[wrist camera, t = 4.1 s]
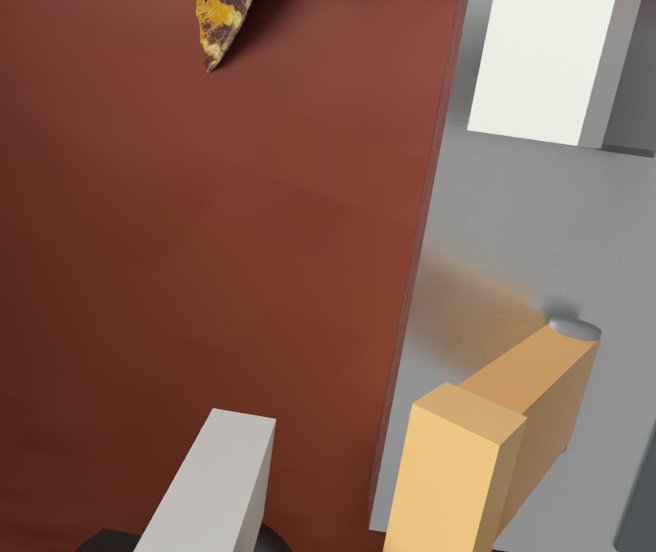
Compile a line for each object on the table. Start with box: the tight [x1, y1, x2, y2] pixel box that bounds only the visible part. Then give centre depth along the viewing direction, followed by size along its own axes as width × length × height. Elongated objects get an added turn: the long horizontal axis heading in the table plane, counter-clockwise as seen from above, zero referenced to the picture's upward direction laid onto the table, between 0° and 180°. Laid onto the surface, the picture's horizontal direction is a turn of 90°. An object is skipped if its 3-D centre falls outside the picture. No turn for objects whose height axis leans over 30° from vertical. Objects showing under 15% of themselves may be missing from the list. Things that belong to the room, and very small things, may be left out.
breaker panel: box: [369, 0, 656, 552], centre depth 20 cm, size 12×20×3 cm, turn 172°
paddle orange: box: [383, 316, 601, 552], centre depth 16 cm, size 2×4×10 cm
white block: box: [467, 0, 656, 158], centre depth 13 cm, size 2×4×10 cm
